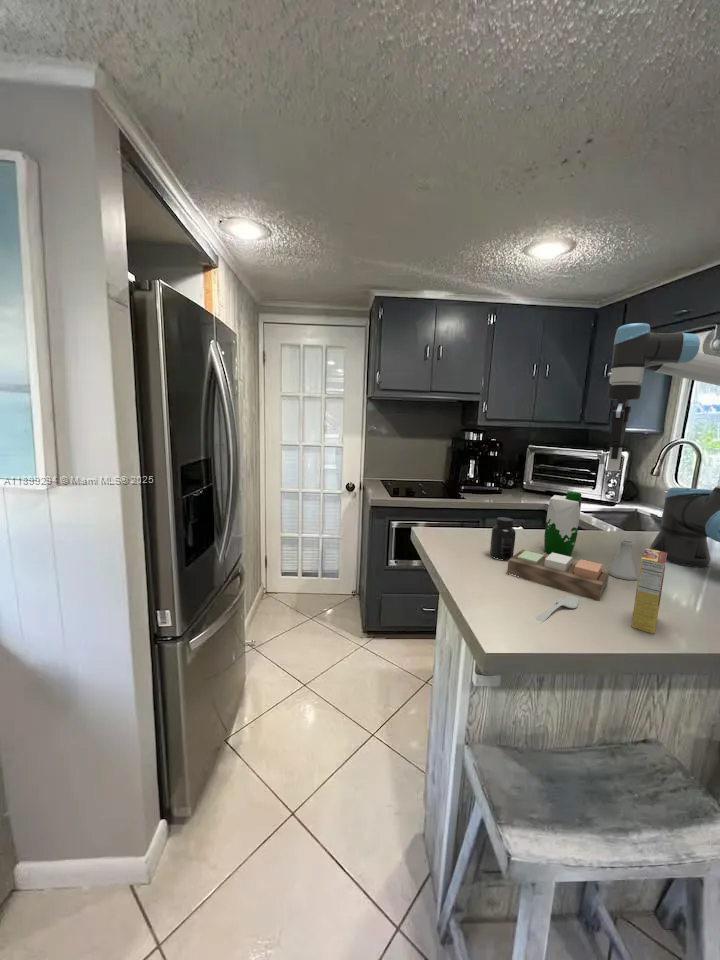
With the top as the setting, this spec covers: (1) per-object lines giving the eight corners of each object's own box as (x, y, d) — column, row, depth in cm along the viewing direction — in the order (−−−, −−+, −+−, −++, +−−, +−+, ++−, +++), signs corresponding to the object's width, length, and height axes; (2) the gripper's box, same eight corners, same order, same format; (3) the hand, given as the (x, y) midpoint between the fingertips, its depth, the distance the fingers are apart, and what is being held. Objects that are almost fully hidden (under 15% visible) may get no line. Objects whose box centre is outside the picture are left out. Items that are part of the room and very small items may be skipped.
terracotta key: (600, 579, 101) (602, 564, 101) (595, 587, 96) (597, 572, 95) (578, 573, 105) (580, 559, 104) (572, 581, 99) (574, 566, 98)
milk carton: (571, 559, 120) (580, 496, 117) (540, 552, 125) (548, 491, 122) (575, 552, 127) (584, 492, 124) (545, 545, 133) (553, 487, 129)
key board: (607, 585, 103) (609, 570, 102) (599, 600, 94) (601, 584, 93) (521, 562, 116) (522, 549, 116) (506, 573, 107) (508, 559, 107)
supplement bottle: (515, 556, 121) (519, 518, 119) (510, 562, 116) (514, 523, 113) (492, 551, 125) (496, 514, 123) (486, 557, 119) (490, 519, 117)
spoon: (583, 606, 91) (584, 599, 91) (536, 633, 79) (537, 625, 79) (565, 599, 95) (566, 592, 94) (517, 623, 82) (518, 616, 82)
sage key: (542, 568, 110) (543, 554, 110) (534, 575, 105) (536, 561, 104) (523, 563, 113) (525, 550, 113) (515, 570, 108) (517, 556, 107)
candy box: (633, 611, 89) (645, 547, 86) (657, 618, 86) (669, 552, 84) (628, 626, 82) (640, 557, 80) (654, 635, 79) (667, 563, 77)
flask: (642, 582, 106) (648, 547, 104) (612, 579, 107) (618, 544, 105) (629, 572, 113) (635, 538, 111) (602, 569, 114) (607, 536, 112)
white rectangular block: (570, 571, 106) (572, 557, 105) (564, 579, 100) (566, 564, 100) (550, 566, 109) (552, 552, 108) (543, 573, 104) (545, 558, 103)
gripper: (612, 386, 114) (601, 466, 118) (605, 383, 104) (593, 471, 108) (643, 386, 109) (631, 469, 113) (639, 382, 99) (626, 474, 103)
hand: (613, 470), depth 111 cm, fingers closed
